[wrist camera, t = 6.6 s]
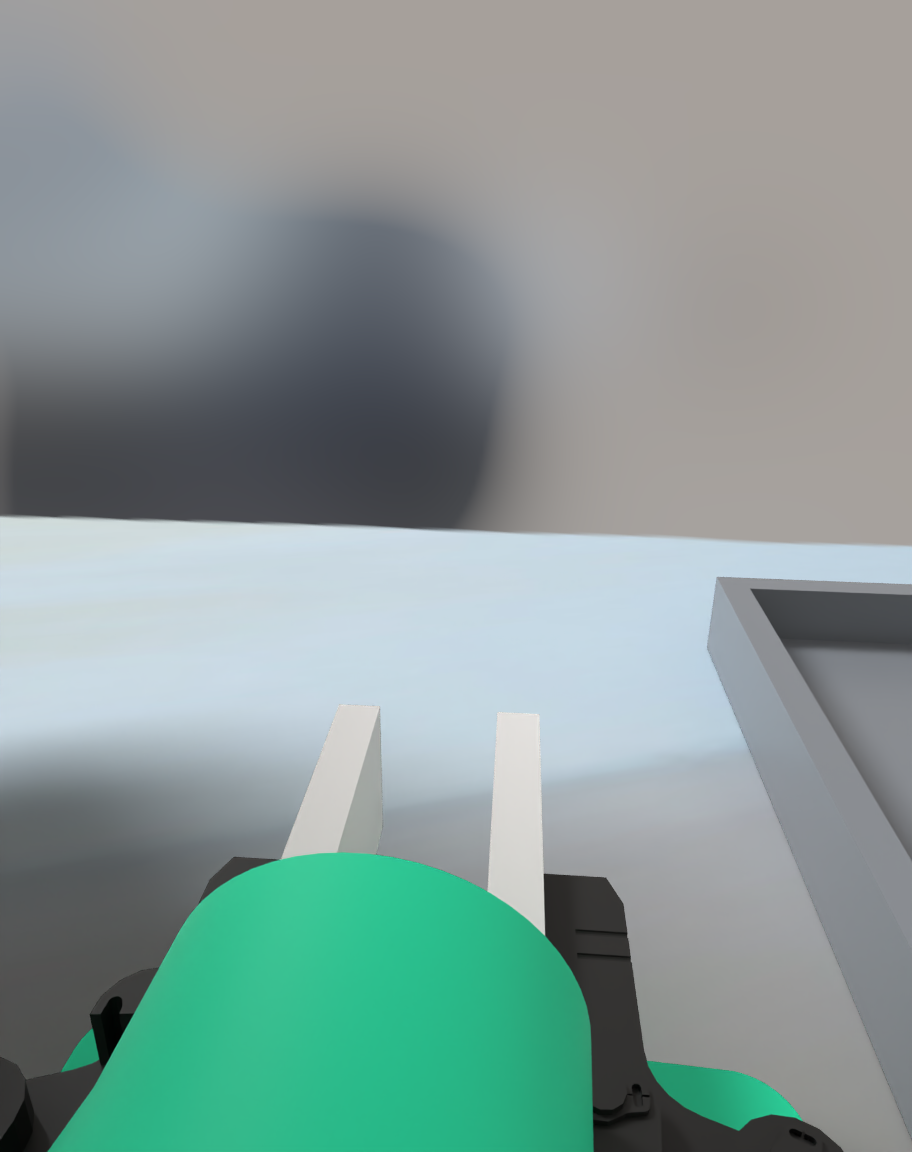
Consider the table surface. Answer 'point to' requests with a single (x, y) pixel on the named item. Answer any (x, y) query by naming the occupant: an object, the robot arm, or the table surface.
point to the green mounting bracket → (363, 1027)
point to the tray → (836, 770)
